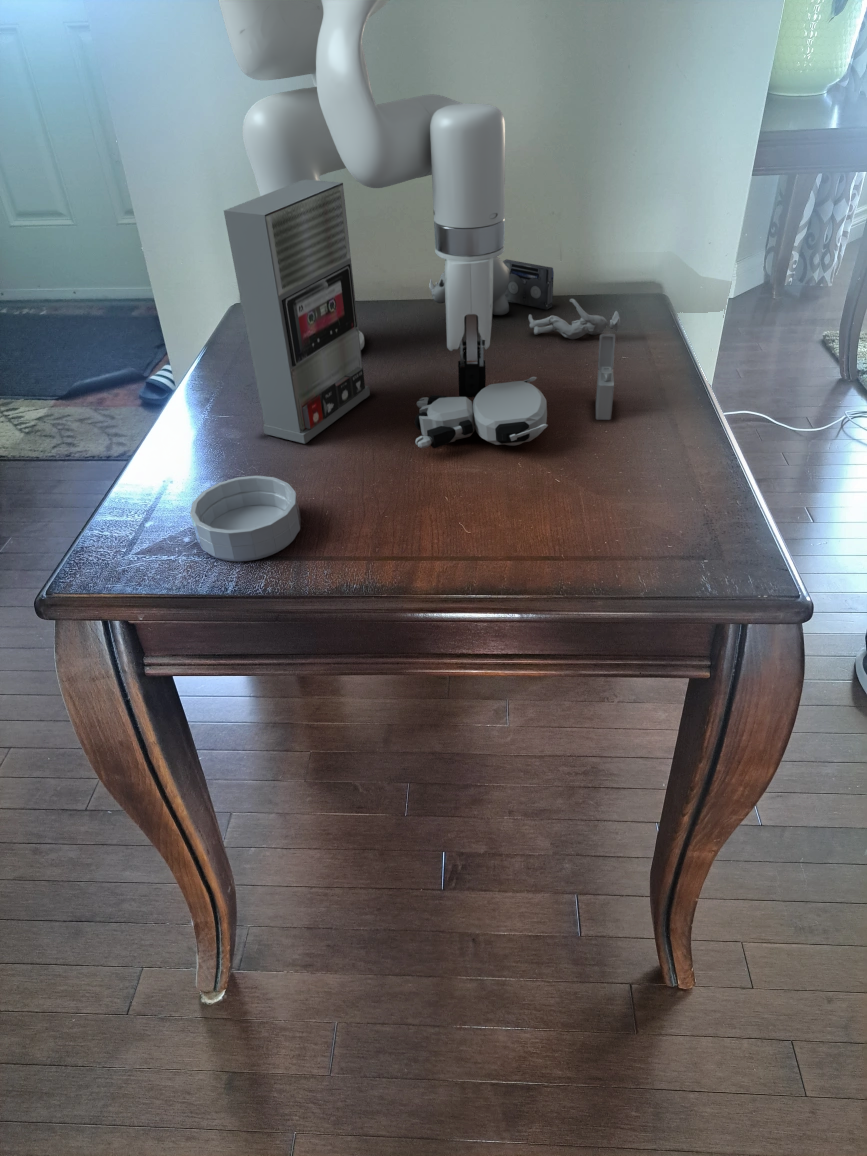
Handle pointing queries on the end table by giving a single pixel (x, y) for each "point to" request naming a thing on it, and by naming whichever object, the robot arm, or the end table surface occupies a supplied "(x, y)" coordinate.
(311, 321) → the cassette tape recorder
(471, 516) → the end table surface
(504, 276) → the chubby cartoon animal
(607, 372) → the lighter
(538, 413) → the robot toy
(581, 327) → the soldier figure
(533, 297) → the mini dv tape
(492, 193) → the robot arm
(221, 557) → the grey shallow bowl
